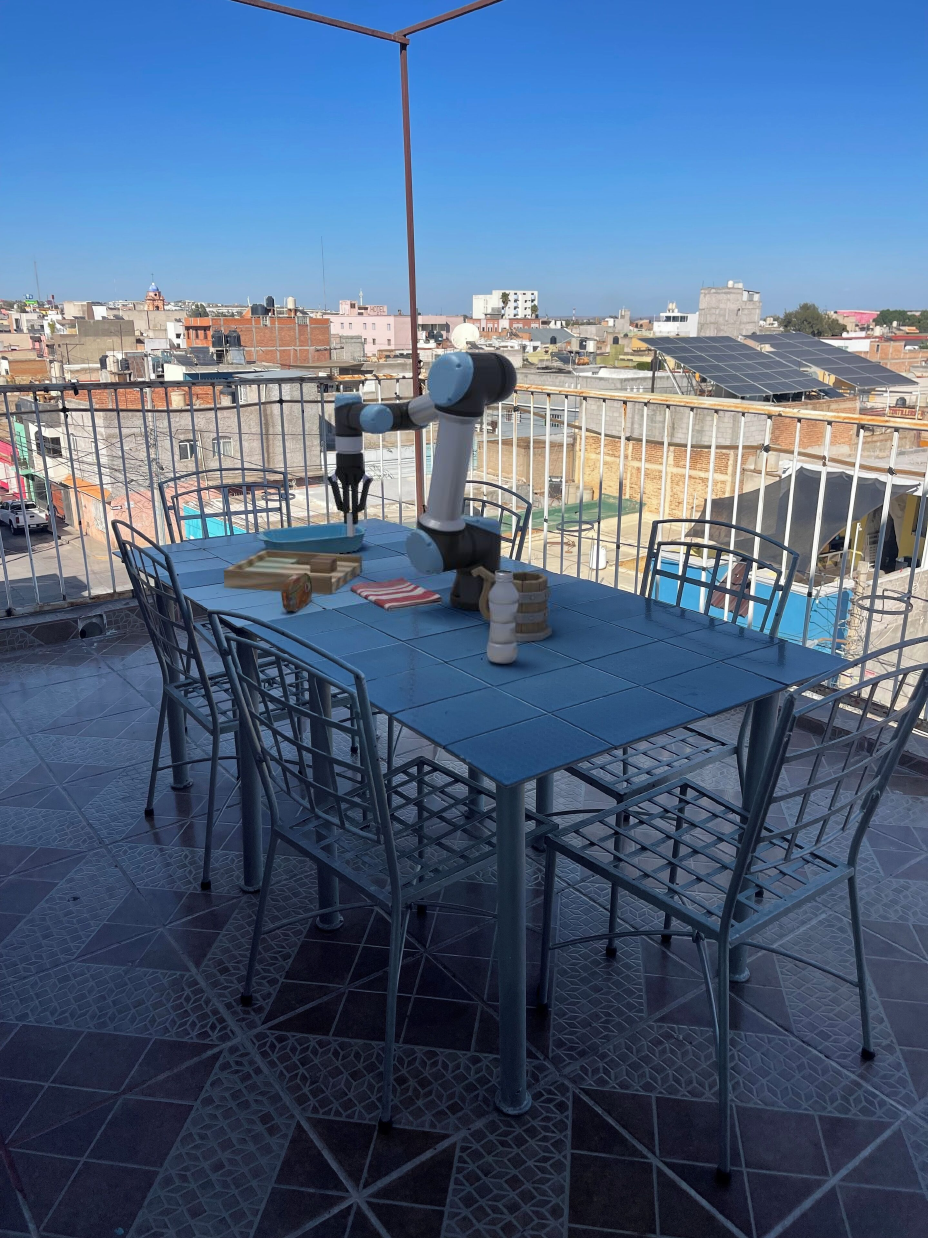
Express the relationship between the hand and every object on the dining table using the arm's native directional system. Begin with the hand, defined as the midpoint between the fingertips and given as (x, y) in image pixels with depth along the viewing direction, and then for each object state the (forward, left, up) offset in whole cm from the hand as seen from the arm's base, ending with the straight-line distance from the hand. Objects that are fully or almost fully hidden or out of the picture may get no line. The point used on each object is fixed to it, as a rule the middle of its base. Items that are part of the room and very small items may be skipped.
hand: (351, 535), depth 242 cm
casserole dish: (+37, +27, -14) cm, 48 cm away
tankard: (-34, -51, -14) cm, 63 cm away
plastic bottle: (-56, -53, -14) cm, 79 cm away
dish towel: (-11, -16, -15) cm, 25 cm away
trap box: (0, +17, -14) cm, 22 cm away
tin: (-27, +6, -14) cm, 31 cm away
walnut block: (0, +9, -11) cm, 14 cm away
